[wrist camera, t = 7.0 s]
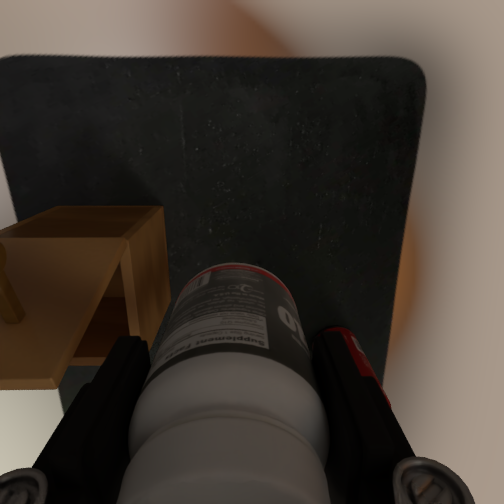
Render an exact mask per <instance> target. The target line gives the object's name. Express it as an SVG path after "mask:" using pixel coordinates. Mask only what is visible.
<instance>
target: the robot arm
mask: <svg viewBox="0 0 504 504" xmlns="http://www.w3.org/2000/svg"><path fill="white" fill-rule="evenodd" d="M312 364H313V367H314V371H315V374H316V378H317V381H318V384H319V387H320V391H321V395H322V399H323V402H324V406H325V410H326V413H327V418H328V423H329V430H330V448H329V455H328V459H327V462H326V465H325V468H324V472H325V475H326V479H327V483H328V492H329V497H330V503H331V504H475V502H474V499H473V497H472V495H471V493H470V491H469V489H468V487H467V486H466V484H465V483H464V482H463V481H462V479H461V478H460V477H459V476H458V475H457V474H456V473H454V472H453V471H452V470H451V469H449V468H448V467H447V466H445V465H443V464H441V463H439V462H437V461H435V460H432V459H428V458H425V457H416V456H415V454H414V452H413V450H412V448H411V446H410V444H409V443H408V440H407V439H406V437H405V435H404V433H403V431H402V429H401V427H400V425H399V423H398V421H397V419H396V417H395V415H394V414H393V412H392V410H391V408H390V406H389V404H388V402H387V400H386V398H385V396H384V394H383V392H382V390H381V389H380V387H379V385H378V383H377V381H376V379H375V378H374V377H373V376H361V373H360V371H359V369H358V367H357V365H356V363H355V361H354V359H353V356H352V354H351V352H350V350H349V348H348V346H347V344H346V342H345V339H344V337H343V335H342V333H341V332H340V331H321V333H320V336H315V337H314V341H313V359H312ZM150 368H151V364H150V357H149V349H148V343H147V341H146V340H141V337H140V336H119V337H118V339H117V340H116V342H115V344H114V345H113V347H112V349H111V350H110V352H109V354H108V355H107V357H106V359H105V360H104V362H103V364H102V365H101V367H100V369H99V370H98V372H97V374H96V375H95V377H94V379H93V380H92V382H91V383H86V384H85V385H83V387H82V388H81V389H80V391H79V392H78V394H77V396H76V397H75V399H74V400H73V402H72V404H71V405H70V407H69V408H68V410H67V412H66V413H65V415H64V416H63V418H62V420H61V421H60V423H59V425H58V426H57V428H56V429H55V431H54V432H53V434H52V436H51V437H50V439H49V441H48V442H47V444H46V445H45V447H44V449H43V450H42V452H41V453H40V455H39V457H38V458H37V460H36V461H35V463H34V465H33V466H32V468H21V469H16V470H13V471H10V472H7V473H5V474H3V475H1V476H0V504H116V503H117V500H118V497H119V493H120V489H121V484H122V480H123V476H124V473H125V471H126V469H127V467H128V465H129V463H130V461H131V460H130V456H129V450H128V430H129V425H130V421H131V417H132V414H133V411H134V408H135V405H136V402H137V399H138V397H139V394H140V392H141V390H142V388H143V385H144V383H145V380H146V378H147V375H148V373H149V370H150Z"/></svg>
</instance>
